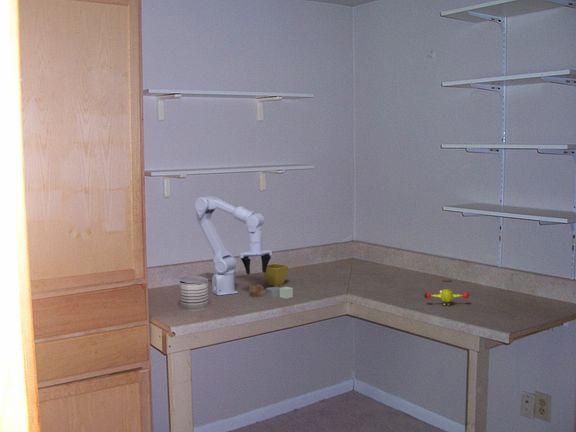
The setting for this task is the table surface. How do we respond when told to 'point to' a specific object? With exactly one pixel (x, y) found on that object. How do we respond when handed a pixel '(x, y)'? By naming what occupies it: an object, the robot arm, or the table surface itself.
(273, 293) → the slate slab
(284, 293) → the sage cube
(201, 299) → the can
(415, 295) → the table surface
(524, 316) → the table surface
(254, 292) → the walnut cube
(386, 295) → the table surface
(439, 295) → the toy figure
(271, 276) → the flower pot
